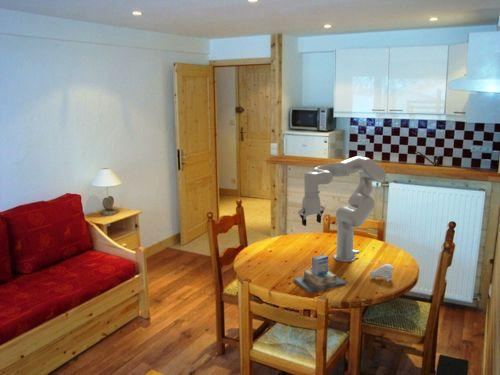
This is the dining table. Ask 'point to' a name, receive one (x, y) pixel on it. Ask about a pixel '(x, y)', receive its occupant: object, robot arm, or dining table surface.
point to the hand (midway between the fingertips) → (311, 223)
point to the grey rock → (383, 272)
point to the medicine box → (320, 264)
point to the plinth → (314, 289)
